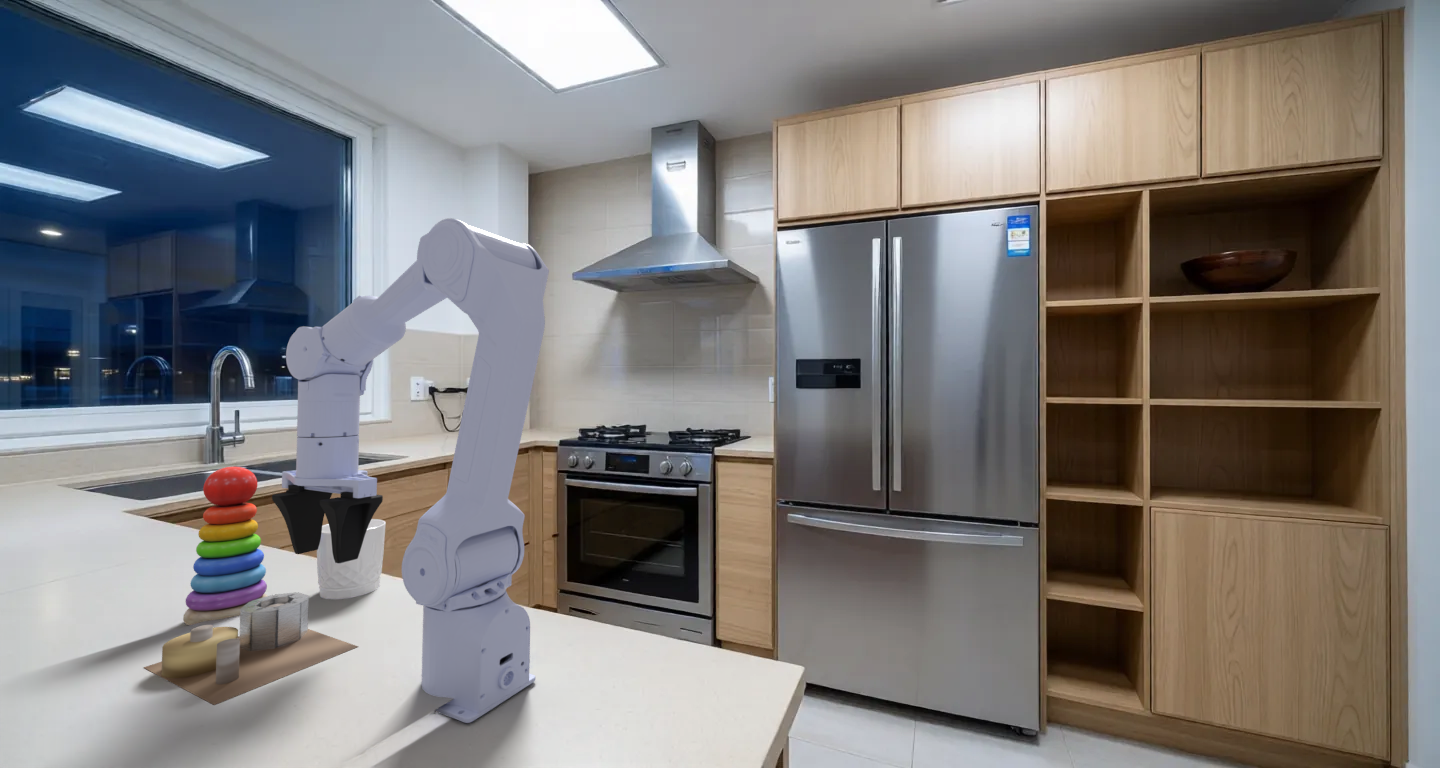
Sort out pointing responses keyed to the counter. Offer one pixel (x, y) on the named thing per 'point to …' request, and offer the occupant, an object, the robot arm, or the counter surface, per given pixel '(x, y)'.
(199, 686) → the board
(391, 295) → the robot arm
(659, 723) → the counter surface
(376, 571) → the white cup
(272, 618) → the gear ring
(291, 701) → the counter surface
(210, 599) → the stacking toy
